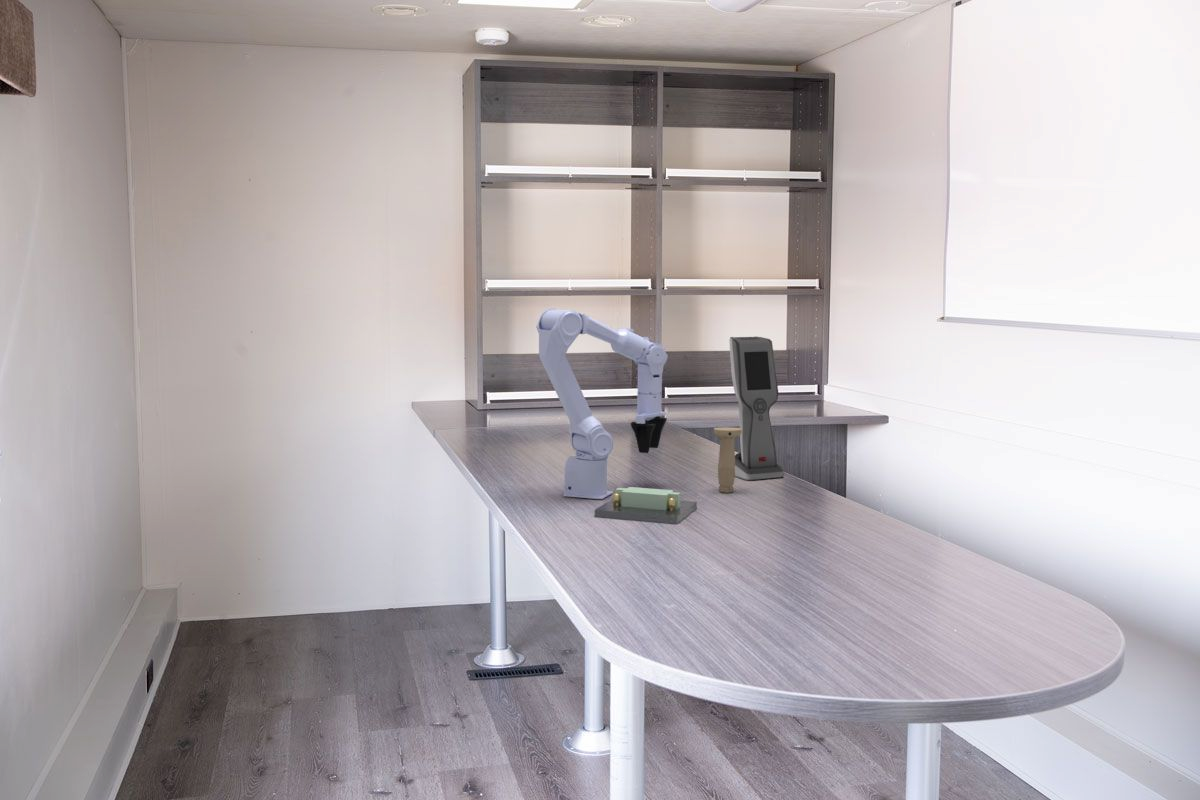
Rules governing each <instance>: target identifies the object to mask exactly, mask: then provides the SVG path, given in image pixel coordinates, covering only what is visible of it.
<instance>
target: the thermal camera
mask: <svg viewBox="0 0 1200 800" xmlns="http://www.w3.org/2000/svg"><path fill="white" fill-rule="evenodd" d="M728 341H729V342H728V343H729V355H730V367H731V368H730V370H731V379H732V386H733V390H734V393H735V394H734V395H735V396H736V398H737V402H738V410H739V411H738V412H739V413H738V414H739V416H738V417H739V418H738V419H739V428H740V429H741V435H740V436H739V437H740V438H739V439H740V440H739V441H740V452H738V453H736V454H735V478H738V479H742V480H744V481H750V480H751V481H759V480H760V481H761V479H763V480H772V479H771V478H774V479H781V477H783V478H784V477H785V472H784V470H783V468H782V467H781V466H780V465H779V464H778V459H777V457H778V456H777V450H776V449H777V448H776V442H775V438H774V433H773V427H772V422H771V418H770V409H771V408H772V407H773V405H775V404H776V403H777V401H778V399H779V389H778V387H779V385H778V379H777V372H776V365H775V356H774V347H773V341H772V340H771V339H770V338H766V337H763V336H731V337H729V339H728Z"/></svg>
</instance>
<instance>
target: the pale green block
mask: <svg viewBox="0 0 1200 800" xmlns="http://www.w3.org/2000/svg"><path fill="white" fill-rule="evenodd" d="M614 489H615V488H614ZM614 493H620V504H621V506H623V507H634V508H646V509H658V510H667V509H668V498H675V509H679V508H680V500H681V492H675V490H672V489H660V488H647V487H635V486H629V487H627V488H625V487H617V488H616V489H615V490H614Z"/></svg>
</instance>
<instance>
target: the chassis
mask: <svg viewBox="0 0 1200 800" xmlns="http://www.w3.org/2000/svg"><path fill="white" fill-rule="evenodd" d="M697 504H698V502H697V501H693V500H692V501H691V500H683V499H680V508H679V509H675V498H668V509H667V510H658V509H646V508H634V507H623V506H621V504H620V493H615V492H614V493H613V497H612V499H610V500H609V501H607V502H605V503H603V504H601V505H600V506H598V507H597V508H595V509H594V517H595V518H603V519H604V518H606V519H615V520H628V521H636V522H637V521H639V522H648V523H649V522H651V523H660V524H673V525H678V524H679V523H680V522H682V521H683V520H684V519H686V518H687V517H688V516H689V515H690V514H692V513H693V512H695V510H697V507H698V505H697Z"/></svg>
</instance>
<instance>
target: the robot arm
mask: <svg viewBox="0 0 1200 800" xmlns="http://www.w3.org/2000/svg"><path fill="white" fill-rule="evenodd" d="M535 327H536V330H537V333H538V356H539V359H540V362H541V363H542V366H543V367H544V370H545V372H546V375H547V376H548V378H549V380H550V382H551V385H552V387H553V389H554V390H555V393H556V396H557V398H558V399H559V401H560V403H561V406H562V408H563V411H564V412H565V414H566V416H567V419H568V420H569V423H570V424H569V426H568V428H567V430H568V432H569V434H570V445H571V447H572V449H573V450H574V451H575V456H573V455H571V456H568V457H567V459H566V461H565V464H564V465H565V466H564V493H563V495H562V496H563V497H567V498H568V497H569V498H570V497H571V498H580V499H581V498H582V499H592V500H593V499H594V500H603V499H605V498H607V497H608V496H610V495H612V494H614V493H613V491H612V490H608V459H609V455H610V454H611V452H612V451H613V449H614V440H613V436H612V435H611V434H610V432H608V431H607V430H606V429H605V428H604V427H603V424H602V423H601V422H600V421H599V419H597V418H596V417H595V416H594V415H593V413H592V411H591V408H590V407H589V404H588V402H587V399H586V397H585V396H584V393H583V391H582V389H581V387H580V384H579V382H578V380H577V377H575V374H574V372H573V370H572V368H571V366H570V363H569V361H568V359H567V357H566V354H567V352H568V350H569V349H570V348H571V346H572V344H573V343H574V342H575V341H576V340H577V338H578V337H579V335H586V334H587V335H588V336H591V337H592V338H595V339H598V340H601V341H603V342H606V343H608V344H610V347H611V349H612V351H613V352H615V353H617V354H619V355H622V356H623V357H626V358H628V359H630V360H632V361H633V362H634V363H635V364H636V365H637V394H636V395H637V396H636V397H637V398H636V399H637V400H636V401H637V402H636V404H637V405H636V413H635V414H636V415H635V421H632V422H630V427H631V429H632V430H633V433H634V437H635V439H636V444H637V448H638V452H639V453H640V454H641V453H643V454H648V453H649V452H650V449H658V448H659V445H660V442H661V441H660V440H661V435H662V432H663V429H664V427H665V425H666V423H667V422H668V421H667V420H668V418H667V417H664V416H667V412H666V411H663V409H662V402H663V401H662V395H663V394H662V392H663V391H662V390H663V372H664V366H665V364H666V363H667V361H668V357H669V356H668V353H667V351H666V349H665V348H664V346H663V344H661V343H658V342H651V341H650V338H649V337H647V336H643V337H642V336H640V335H639V334H636V333H634V329H633V328H628V327H627V328H620V329H618V330H615V329H613V328H611V327H609V326H608V325H606V324H604V323H602V322H600V321H599V320H597V319H594V318H593V317H591V316H589V315H586V314H585V313H581V312H577V311H576V310H574V309H573V310H572V309H564V310H563V309H556V308H548V309H546V310H544V311H543V312H542V313H541V314H540V316H539V318H538V321H537V323H536V326H535Z"/></svg>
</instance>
